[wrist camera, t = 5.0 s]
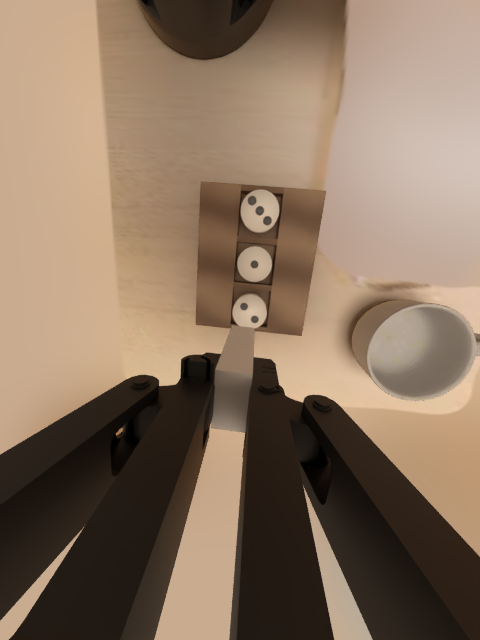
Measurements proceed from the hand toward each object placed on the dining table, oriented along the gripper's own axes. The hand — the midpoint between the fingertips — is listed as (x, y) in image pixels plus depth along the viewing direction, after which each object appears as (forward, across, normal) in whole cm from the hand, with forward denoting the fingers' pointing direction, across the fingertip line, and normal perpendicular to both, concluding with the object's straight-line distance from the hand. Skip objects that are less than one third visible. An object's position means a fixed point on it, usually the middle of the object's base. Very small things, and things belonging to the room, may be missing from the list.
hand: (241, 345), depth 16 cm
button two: (+15, 0, 0) cm, 15 cm away
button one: (+16, 0, +5) cm, 17 cm away
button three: (+14, 0, +11) cm, 18 cm away
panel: (+17, 0, +5) cm, 18 cm away
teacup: (+17, +20, -2) cm, 27 cm away
